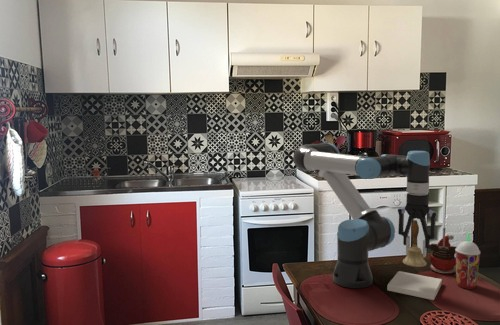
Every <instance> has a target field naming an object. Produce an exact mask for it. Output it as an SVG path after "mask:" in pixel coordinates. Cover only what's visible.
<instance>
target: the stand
mask: <svg viewBox="0 0 500 325" xmlns="http://www.w3.org/2000/svg"><path fill="white" fill-rule="evenodd" d="M442 285H443V279H442V278H436V277H433V276H426V275H421V274H416V273H410V272H405V271H400V270H399V271H397V272H396V273H395V275H394V276H393V278H391V279H390V280H389V282H388V284H387V287H386V289H387V290H386V291H389V292H393V293H399V294H403V295H408V296H413V297H417V298H421V299H427V300H431V301H434V300H435V298H436V296H437V295H438V292H439V291H440V289H441V287H442Z"/></svg>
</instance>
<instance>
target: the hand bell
mask: <svg viewBox="0 0 500 325" xmlns="http://www.w3.org/2000/svg"><path fill="white" fill-rule="evenodd" d="M410 230H411V235H412V246H410V248H409V249H408V254H407V255H406V256H405V258H403V259H402V263H403V264H404V265H406V266H408V267H413V268H421V267H426V266H427V264H428V263H427V261H426V260H425V258H424V257H423V250H422V249H421V247H418V236H419V233H420V227H419V222H418V219H415V220H414V219H413V221H412V224H411V227H410Z"/></svg>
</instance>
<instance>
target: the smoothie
mask: <svg viewBox="0 0 500 325" xmlns="http://www.w3.org/2000/svg"><path fill="white" fill-rule="evenodd" d="M466 236H467V237H466V238H467V239H466V240H464V241H460V242H459V243H458V245H457V246H456V247H457V248H456V249H455V251H456V254H455V257H456V265H455V268H456V271H455V280H456V283H457V285H458V287H459V288H462V289H466V290H467V289H469V290H472V289H475V287H476V286H477V284H478V277H479V276H478V275H479V274H478V273H479V266H480V257H481V250H480V249H479V247H478V245H477V244H476V243H475V242H473V241H470V233H467V235H466Z"/></svg>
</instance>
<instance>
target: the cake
mask: <svg viewBox="0 0 500 325" xmlns="http://www.w3.org/2000/svg"><path fill="white" fill-rule="evenodd" d="M442 229H443V230H442V238H441V239H439V241H438V243H430V246H429V248H428V249H429V250H430V251H431V252H432V253H431V254H430V259H429V260H430V263H431V264H430V266H429V268H430V269H431V270H432V271H434V272H437V273H440V274H453V273H456V251H455V249H456V248H457V246H453V245H451V242H450V241H451V240H452V241H453V240H454V236H455V235H453V234H447V235H446V227H443V228H442Z"/></svg>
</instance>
